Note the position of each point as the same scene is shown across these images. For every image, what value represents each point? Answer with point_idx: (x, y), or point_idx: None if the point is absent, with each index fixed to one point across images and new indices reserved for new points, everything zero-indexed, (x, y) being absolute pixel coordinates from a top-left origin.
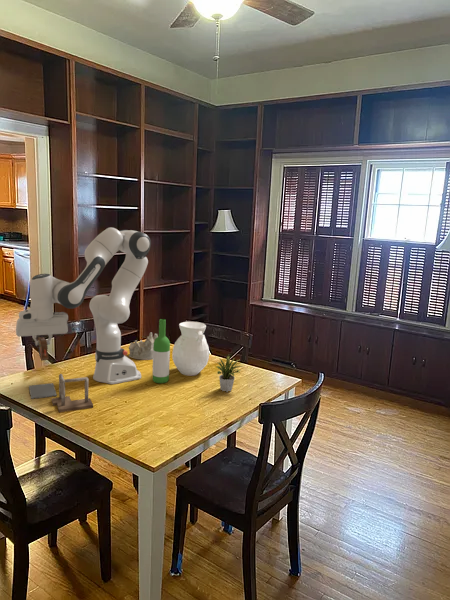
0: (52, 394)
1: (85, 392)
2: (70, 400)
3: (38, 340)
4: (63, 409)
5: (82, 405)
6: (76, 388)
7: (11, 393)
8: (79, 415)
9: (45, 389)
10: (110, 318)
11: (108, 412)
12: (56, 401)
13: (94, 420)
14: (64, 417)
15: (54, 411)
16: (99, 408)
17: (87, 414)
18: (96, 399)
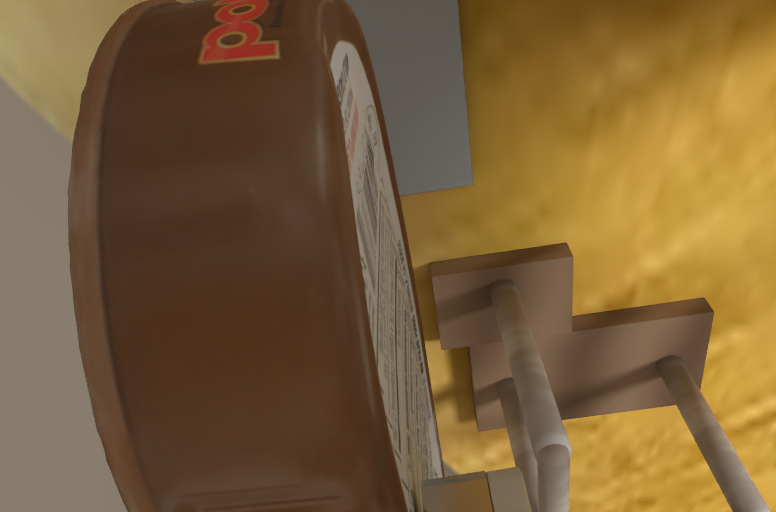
0: (436, 174)
1: (693, 435)
2: (567, 329)
3: (98, 133)
4: (504, 424)
5: (630, 400)
6: (676, 18)
7: (35, 51)
8: (584, 456)
9: (366, 40)
10: None
11: (751, 444)
12: (467, 332)
13: (646, 503)
14: (501, 466)
15: (448, 403)
16: (722, 399)
17: (630, 451)
18: (758, 280)
